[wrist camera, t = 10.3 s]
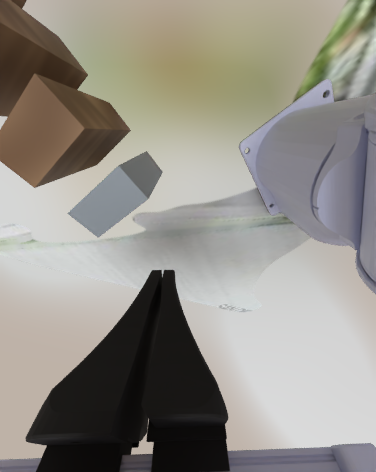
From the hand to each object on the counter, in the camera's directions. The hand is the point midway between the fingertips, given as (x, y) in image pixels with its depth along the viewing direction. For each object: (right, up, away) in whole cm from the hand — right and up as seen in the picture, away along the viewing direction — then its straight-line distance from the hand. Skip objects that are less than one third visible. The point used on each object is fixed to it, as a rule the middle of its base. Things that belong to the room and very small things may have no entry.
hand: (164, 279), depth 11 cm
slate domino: (-4, +10, +5) cm, 12 cm away
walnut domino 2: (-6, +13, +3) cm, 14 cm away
